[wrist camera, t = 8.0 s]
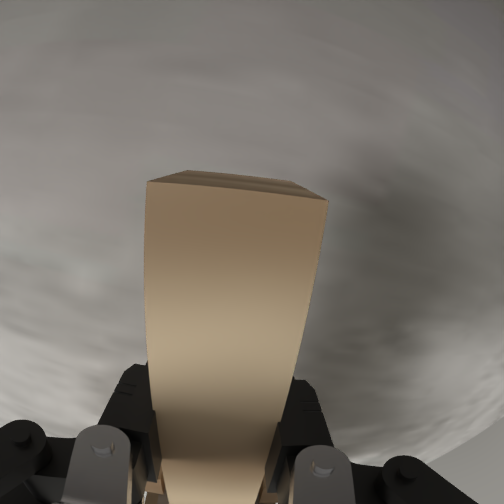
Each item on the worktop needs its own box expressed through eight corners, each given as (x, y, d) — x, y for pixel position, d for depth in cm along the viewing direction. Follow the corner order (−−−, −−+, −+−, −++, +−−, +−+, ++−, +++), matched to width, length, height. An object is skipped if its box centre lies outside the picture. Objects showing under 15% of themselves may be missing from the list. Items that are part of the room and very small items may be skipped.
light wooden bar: (154, 167, 9) (45, 189, 3) (323, 186, 9) (427, 230, 4) (166, 473, 13) (152, 556, 8) (258, 481, 13) (263, 565, 8)
